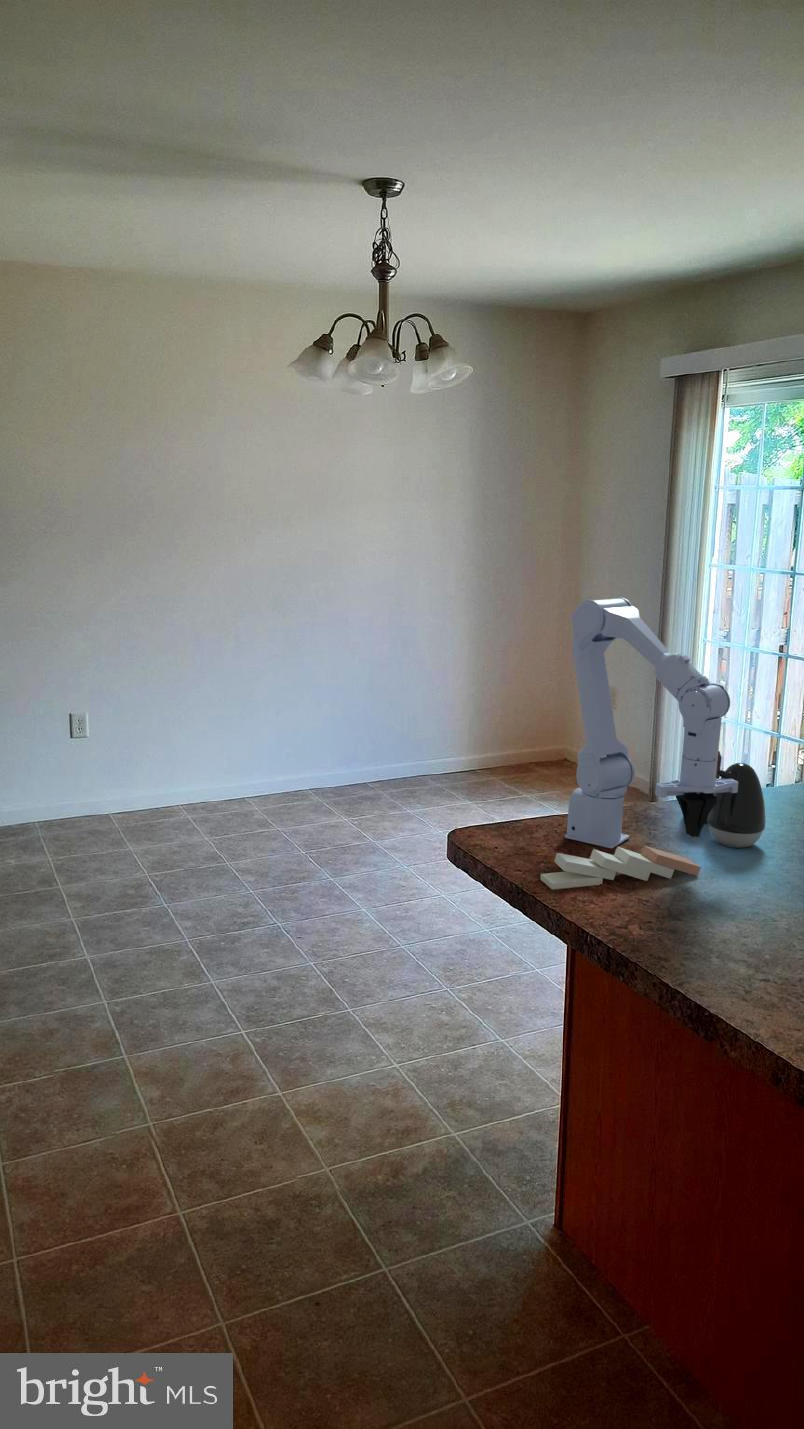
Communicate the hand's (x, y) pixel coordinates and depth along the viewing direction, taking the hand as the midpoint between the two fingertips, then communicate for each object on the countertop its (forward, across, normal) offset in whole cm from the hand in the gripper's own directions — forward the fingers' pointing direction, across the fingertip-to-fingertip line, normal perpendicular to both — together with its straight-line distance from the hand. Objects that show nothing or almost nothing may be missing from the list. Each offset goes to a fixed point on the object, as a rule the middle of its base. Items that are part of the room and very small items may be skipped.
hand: (692, 835), depth 177 cm
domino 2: (+5, -15, 0) cm, 16 cm away
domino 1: (+6, -18, 0) cm, 19 cm away
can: (+7, +18, +25) cm, 31 cm away
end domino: (+6, 0, 0) cm, 6 cm away
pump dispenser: (+7, +16, +11) cm, 21 cm away
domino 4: (+6, -5, 0) cm, 7 cm away
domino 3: (+6, -9, 0) cm, 11 cm away
